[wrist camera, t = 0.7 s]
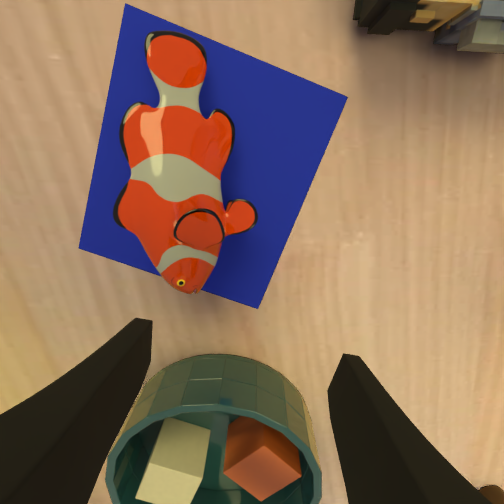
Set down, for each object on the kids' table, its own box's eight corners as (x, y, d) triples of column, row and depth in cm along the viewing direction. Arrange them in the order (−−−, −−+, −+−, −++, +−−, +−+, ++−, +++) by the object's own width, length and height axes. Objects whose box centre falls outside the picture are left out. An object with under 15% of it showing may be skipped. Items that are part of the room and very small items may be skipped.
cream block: (196, 461, 26) (185, 513, 23) (152, 448, 26) (134, 498, 22) (210, 429, 25) (202, 478, 21) (165, 415, 25) (149, 463, 21)
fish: (223, 319, 16) (67, 267, 15) (230, 283, 21) (110, 241, 20) (323, 63, 12) (119, -24, 12) (305, 86, 17) (158, 25, 16)
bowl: (250, 509, 29) (249, 579, 24) (106, 446, 27) (73, 510, 22) (346, 406, 25) (366, 467, 20) (184, 321, 23) (164, 366, 18)
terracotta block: (260, 450, 26) (260, 502, 22) (228, 424, 25) (222, 473, 21) (295, 427, 25) (302, 476, 21) (263, 399, 24) (264, 445, 20)
